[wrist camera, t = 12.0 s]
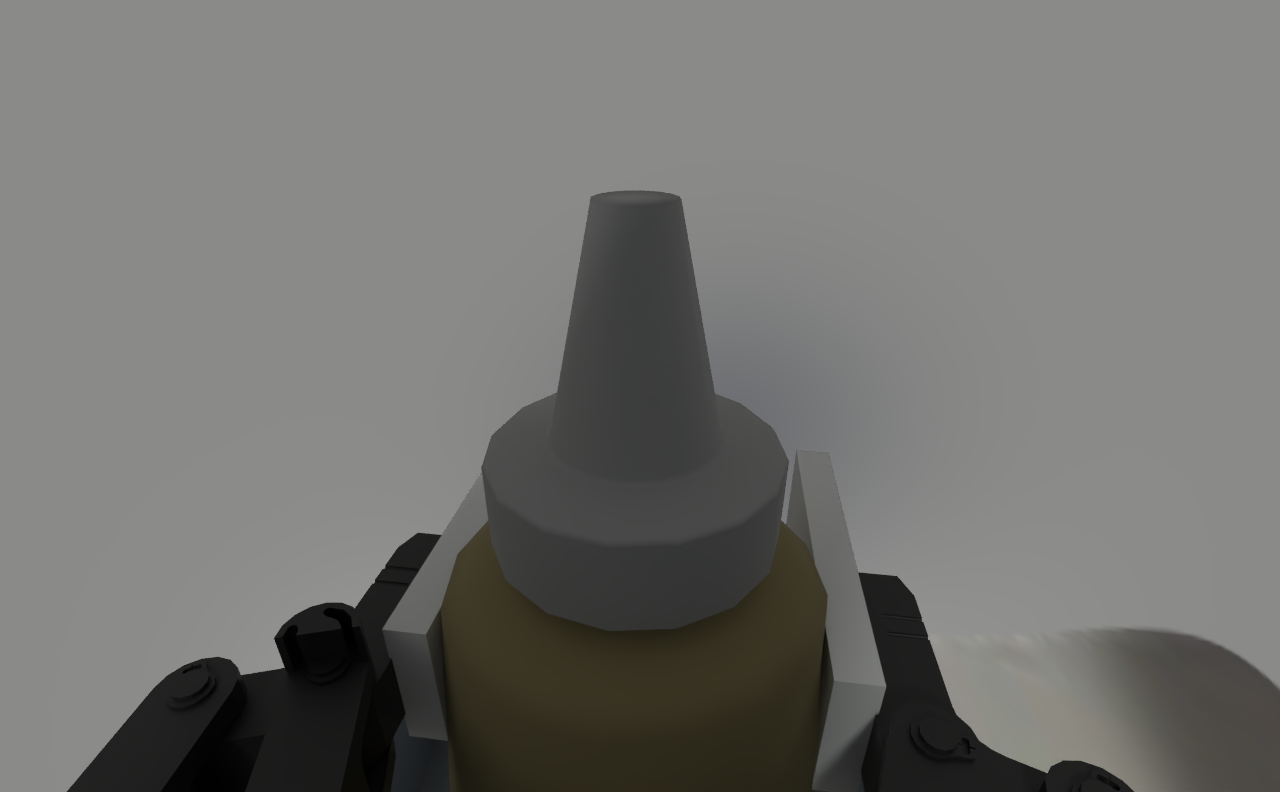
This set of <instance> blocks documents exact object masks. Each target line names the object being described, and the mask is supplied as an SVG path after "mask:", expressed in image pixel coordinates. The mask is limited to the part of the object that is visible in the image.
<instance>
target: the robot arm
mask: <svg viewBox="0 0 1280 792" xmlns="http://www.w3.org/2000/svg"><path fill="white" fill-rule="evenodd" d="M487 521H488V514H487V507H486V499H485V492H484V484H483V477H482V473H481V474H480V476H479V477H478V479H477V480H476V482H475V483H474V485H473V487H472V488H471V490H470V491H469V493H468V494H467V496H466V498H465V499H464V501H463V503H462V504H461V506H460V507H459V509H458V511H457V512H456V514H455V515H454V517H453V518H452V520H451V521H450V523H449V524H448V526H447V528H446V529H445V531H444V532H443V534H442V535H435V534H425V533H417V534H416V535H414V536H413V537H412V538H410V539H409V540H408V541H406V542H405V543H404V544H402V545H401V546H400V547H398V549H397V550H396V551H395V553H394V554H393V555H392V557H391V558H390V560H389V561H388V562H387V564H386V566H385V569H383V570H382V571H381V572H380V574H379V575H378V577H377V578H376V579H375V583H374V584H372V585H371V586H370V588H369V589H368V591H367V592H366V594H365V595H364V596H363V598H362V599H361V601H360V602H359V603H358V605H357V606H356V608H355V609H354V608H353V607H352V606H349V605H346V604H344V603H324V604H320V605H316V606H312V607H310V608H308V609H306V610H304V611H302V612H300V613H298V614H296V615H294V617H292V618H291V619H290V620H289V621H287V622H286V623H285V624H284V625H283V626H282V627H281V629H280V630H279V632H278V633H277V635H276V636H275V638H274V639H275V642H276V645H277V648H278V650H279V653H280V656H281V658H282V661H283V664H284V667H285V668H282V669H277V670H271V671H265V672H258V673H252V674H246V675H240V672H239V670H238V668H237V666H236V665H235V664H234V663H233V662H232V661H231V660H228V659H225V658H220V657H213V658H205V659H200V660H198V661H195V662H192V663H189V664H187V665H184V666H182V667H181V668H179V669H177V670H176V671H174V672H172V673H171V674H169V675H168V676H166V677H165V678H164V680H162V681H161V682H160V683H159V684H158V685H157V686H156V687H155V688H154V689H153V690H152V691H151V692H150V693H149V695H148V696H147V697H146V698H145V699H144V701H143V702H142V703H141V704H140V705H139V706H138V708H137V709H136V710H135V711H134V713H133V714H132V715H131V716H130V717H129V718H128V720H127V721H126V722H125V723H124V724H123V726H122V727H121V728H120V729H119V730H118V732H117V733H116V734H115V735H114V736H113V738H112V739H111V740H110V741H109V742H108V743H107V745H106V746H105V747H104V748H103V749H102V751H101V752H100V753H99V754H98V755H97V756H96V758H95V759H94V760H93V761H92V763H91V764H90V765H89V766H88V767H87V768H86V770H85V771H84V772H83V773H82V774H81V776H80V777H79V778H78V779H77V780H76V782H75V783H74V784H73V785H72V786H71V787H70V789H69V790H68V791H67V792H391V786H392V779H393V773H394V766H395V759H396V750H395V742H394V738H393V737H394V735H395V733H396V731H397V729H398V728H399V726H400V724H401V722H402V720H403V718H404V717H405V721H406V725H407V729H408V733H409V736H414V737H422V738H429V739H437V740H444V741H449V736H448V723H447V710H446V698H445V678H444V658H443V638H442V619H441V605H442V602H443V599H444V596H445V593H446V589H447V586H448V583H449V580H450V577H451V573H452V570H453V567H454V564H455V560H456V557H457V554H458V553H459V552H460V551H461V550H462V549H463V548H464V546H465V545H466V544H467V543H468V542H469V541H470V540H471V539H472V538H473V537H474V535H475V534H476V533H477V532H478V531H479V530H480V529H481V528H482V527H483V526H484V524H485V523H486V522H487ZM786 526H788V527H789V528H790V529H791V530H792V531H793V532H794V533H795V534H796V535H797V536H798V537H799V538H800V539H801V540H802V541H803V542H804V543H805V544H806V545H807V547H808V550H809V552H810V554H811V557H812V559H813V561H814V564H815V566H816V568H817V571H818V573H819V576H820V578H821V580H822V583H823V585H824V587H825V590H826V592H827V594H828V599H827V614H826V622H825V634H824V647H823V660H822V674H821V687H820V701H819V714H818V728H817V741H816V754H815V768H814V775H813V782H812V790H819V791H826V792H858V790H859V786H860V782H861V778H862V780H863V786H864V791H865V792H1134V791H1133V790H1132V789H1131V788H1130V787H1129V786H1128V785H1127V784H1125V783H1124V782H1123V781H1122V780H1120V779H1119V778H1117V777H1116V776H1114V775H1112V774H1111V773H1109V772H1107V771H1106V770H1104V769H1103V768H1100V767H1097V766H1094V765H1092V764H1089V763H1086V762H1083V761H1062V762H1059V763H1057V764H1055V765H1053V766H1051V768H1050V770H1049V772H1048V773H1045V772H1043V771H1040V770H1038V769H1035V768H1033V767H1030V766H1028V765H1025V764H1023V763H1020V762H1018V761H1015V760H1013V759H1010V758H1008V757H1005V756H1003V755H1001V754H999V753H997V752H995V751H993V750H991V749H990V748H989V747H987V746H986V745H984V744H983V743H981V742H980V741H979V740H978V738H977V737H976V735H975V734H974V732H973V731H972V729H971V728H970V727H969V726H968V725H967V724H966V723H965V722H964V721H963V720H961V719H960V718H959V717H958V716H957V715H956V713H955V711H954V709H953V707H952V704H951V701H950V698H949V696H948V693H947V690H946V687H945V684H944V681H943V678H942V675H941V672H940V669H939V666H938V664H937V661H936V658H935V655H934V652H933V649H932V646H931V643H930V640H928V634H927V632H926V629H925V626H924V623H923V622H922V617H921V614H920V612H919V608H918V606H917V603H916V600H915V597H914V595H913V594H912V593H911V592H910V591H909V590H908V588H907V587H906V586H905V585H904V584H903V583H902V581H901V580H900V579H899V578H898V577H897V576H889V575H879V574H868V573H858V570H857V566H856V562H855V559H854V554H853V550H852V546H851V542H850V538H849V534H848V530H847V526H846V522H845V518H844V514H843V510H842V506H841V501H840V497H839V493H838V489H837V485H836V481H835V477H834V474H833V469H832V465H831V461H830V457H829V453H822V452H809V451H796V458H795V465H794V473H793V480H792V487H791V494H790V502H789V509H788V516H787V524H786Z"/></svg>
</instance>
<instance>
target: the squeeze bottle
mask: <svg viewBox="0 0 1280 792" xmlns="http://www.w3.org/2000/svg"><path fill="white" fill-rule="evenodd" d="M788 463H789V461H788V459H787V456H786V454H785V452H784V450H783V448H782V446H781V444H780V442H779V440H778V437H777V435H776V433H775V431H774V430H773V429H772V427H771V426H769V425H768V424H767V423H765V422H764V421H763V420H761V419H760V418H759V417H758V416H756V415H755V414H753V413H752V412H751V411H749V410H748V409H747V408H746V407H744V406H743V405H742V404H740V403H738V402H735V401H733V400H730V399H727V398H724V397H722V396H719V395H717V394H715V393H714V387H713V381H712V375H711V369H710V363H709V358H708V352H707V346H706V340H705V334H704V328H703V323H702V317H701V311H700V305H699V300H698V294H697V288H696V283H695V276H694V270H693V264H692V259H691V253H690V247H689V241H688V235H687V230H686V224H685V218H684V213H683V206H682V201H681V198H680V197H679V196H677V195H674V194H670V193H663V192H654V191H616V192H607V193H601V194H597V195H594V196H592V197H591V199H590V205H589V211H588V217H587V222H586V229H585V234H584V240H583V246H582V252H581V257H580V263H579V269H578V275H577V280H576V287H575V292H574V299H573V304H572V310H571V315H570V321H569V327H568V333H567V339H566V344H565V350H564V356H563V362H562V368H561V373H560V379H559V385H558V391H557V393H555V394H553V395H551V396H548V397H546V398H544V399H541V400H539V401H537V402H535V403H532V404H530V405H528V406H525V407H523V408H522V409H521V410H520V411H518V412H517V413H516V414H515V415H514V416H513V417H512V418H511V419H510V420H508V421H507V422H506V423H505V424H504V425H503V426H502V427H501V428H500V429H498V430H497V431H496V432H495V433H494V434H493V435H492V437H491V440H490V443H489V446H488V449H487V452H486V455H485V458H484V462H483V465H482V468H481V469H482V477H483V484H484V492H485V499H486V507H487V514H488V521H487V522H486V523H485V524H484V526H483V527H482V528H481V529H480V530H479V531H478V532H477V533H476V534H475V535H474V537H473V538H472V539H471V540H470V541H469V542H468V543H467V544H466V545H465V546H464V548H463V549H462V550H461V551H460V552H459V553H458V554H457V557H456V560H455V564H454V567H453V570H452V573H451V577H450V580H449V583H448V586H447V589H446V593H445V596H444V599H443V602H442V605H441V619H442V638H443V658H444V678H445V698H446V710H447V723H448V736H449V741H448V757H449V777H450V792H818V790H812V782H813V775H814V768H815V754H816V741H817V728H818V714H819V701H820V687H821V674H822V660H823V647H824V634H825V622H826V614H827V599H828V594H827V592H826V590H825V587H824V585H823V583H822V580H821V578H820V576H819V573H818V571H817V568H816V566H815V564H814V561H813V559H812V557H811V554H810V552H809V550H808V547H807V545H806V544H805V543H804V542H803V541H802V540H801V539H800V538H799V537H798V536H797V535H796V534H795V533H794V532H793V531H792V530H791V529H790V528H789V527H788V526H786V525H785V524H784V523H783V522H782V521H781V516H782V508H783V501H784V493H785V486H786V478H787V471H788Z"/></svg>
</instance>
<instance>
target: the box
mask: <svg viewBox="0 0 1280 792" xmlns="http://www.w3.org/2000/svg"><path fill="white" fill-rule="evenodd" d="M393 738H394V742H395V750H396V759H395V766H394V773H393V779H392V786H391V792H450V777H449V757H448V741H444V740H437V739H429V738H422V737H414V736H409V733H408V729H407V725H406V721H405V717H404V718H403V720H402V722H401V724H400V726H399V728H398V729H397V731H396V733H395V735H394V737H393ZM818 792H826V791H819V790H818ZM858 792H865V791H864V786H863V780H862V778H861V782H860V786H859V790H858Z"/></svg>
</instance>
